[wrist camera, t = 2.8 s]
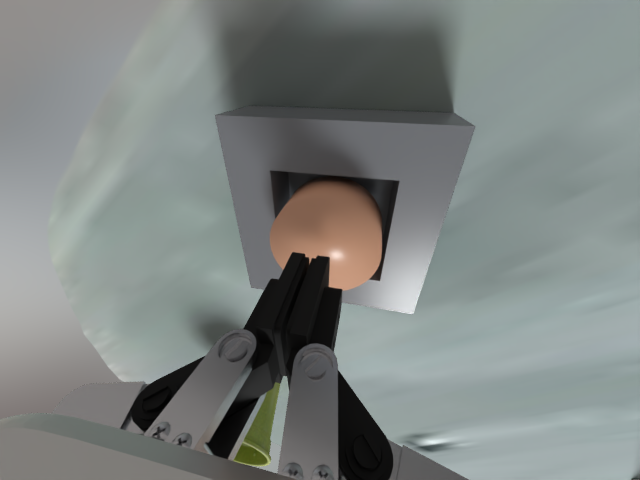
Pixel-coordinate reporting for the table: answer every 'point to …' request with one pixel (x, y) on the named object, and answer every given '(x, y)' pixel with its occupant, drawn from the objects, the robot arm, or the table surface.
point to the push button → (331, 229)
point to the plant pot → (259, 433)
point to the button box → (357, 165)
